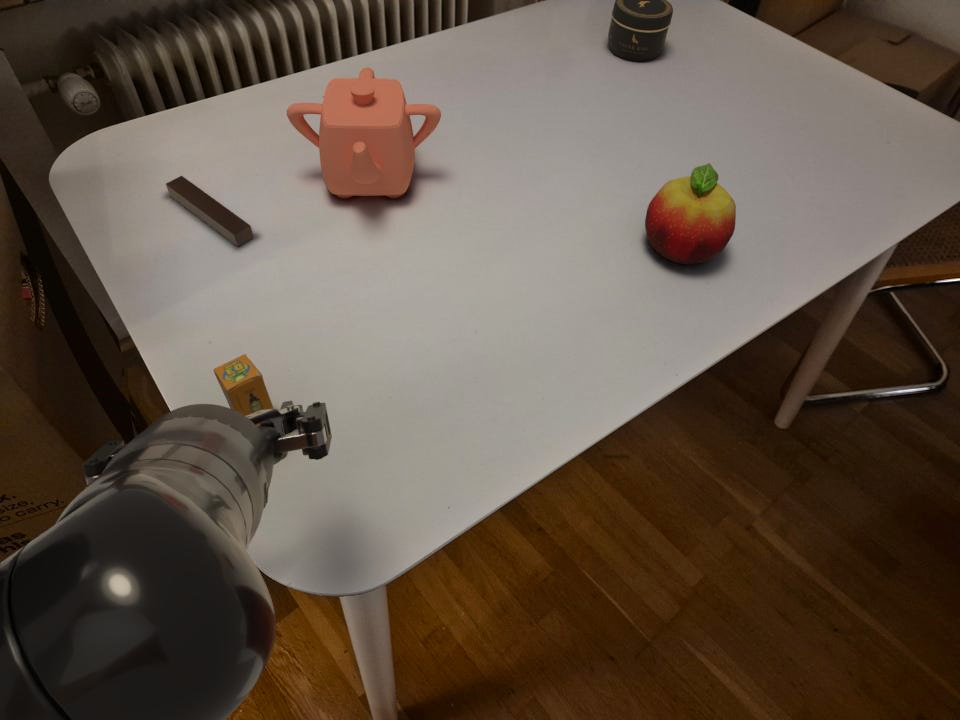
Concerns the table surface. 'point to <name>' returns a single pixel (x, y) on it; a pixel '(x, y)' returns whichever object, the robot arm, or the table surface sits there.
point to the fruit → (691, 217)
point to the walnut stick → (210, 211)
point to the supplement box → (243, 386)
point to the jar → (639, 28)
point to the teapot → (365, 135)
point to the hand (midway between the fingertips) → (231, 425)
